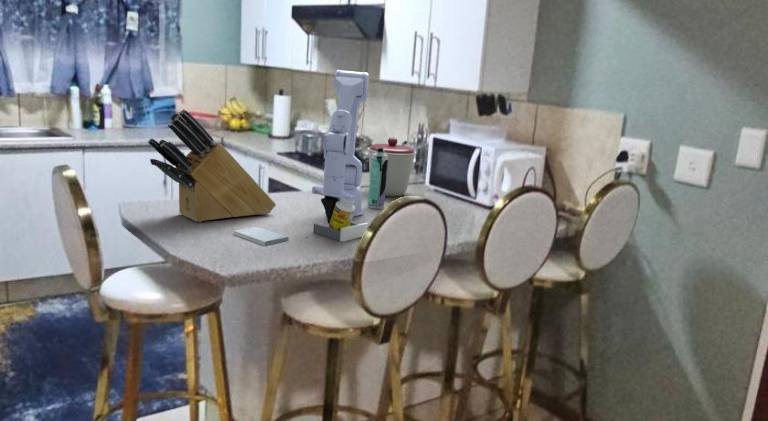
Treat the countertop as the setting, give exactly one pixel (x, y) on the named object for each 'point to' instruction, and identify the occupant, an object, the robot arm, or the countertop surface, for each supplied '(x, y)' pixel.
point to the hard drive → (260, 235)
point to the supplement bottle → (342, 214)
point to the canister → (395, 166)
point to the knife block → (208, 175)
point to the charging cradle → (342, 231)
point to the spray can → (378, 179)
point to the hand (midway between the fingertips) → (331, 223)
